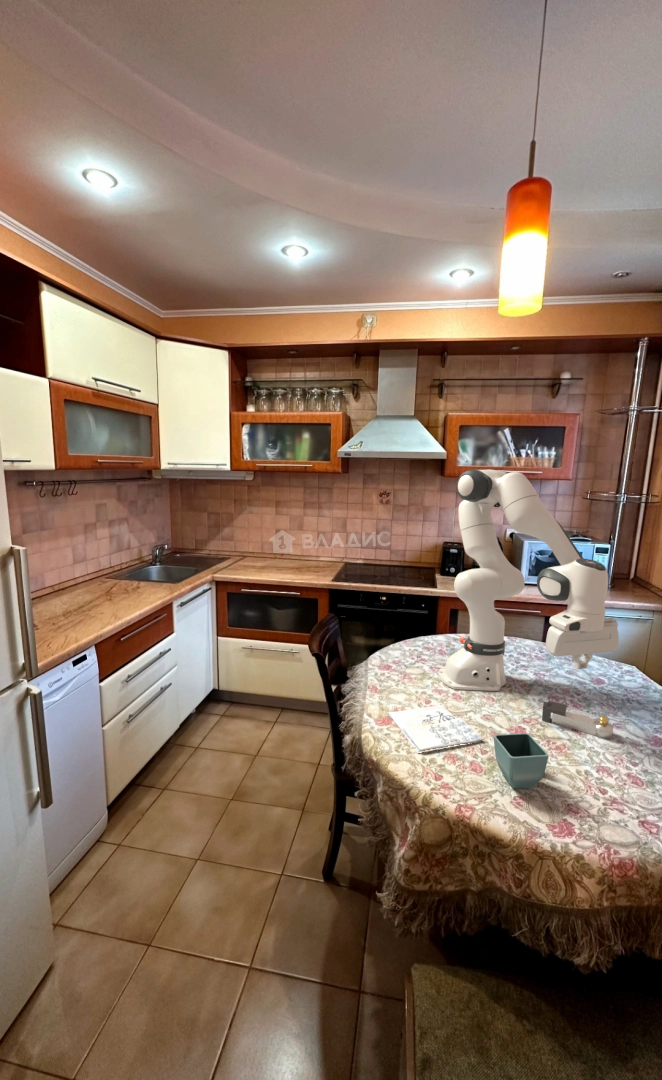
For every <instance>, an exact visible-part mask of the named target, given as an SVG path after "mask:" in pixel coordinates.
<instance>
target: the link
mask: <svg viewBox="0 0 662 1080" xmlns="http://www.w3.org/2000/svg"><path fill="white" fill-rule="evenodd" d="M599 720H600V719H595V718H594V719H593V718H591V717H587V716H584V715H580V714H577V713H575V712H569V711H566V714H565V716H564V715H560V714H556V713H552V712H551V723H552V724H556V725H559V726H562V727H566V728H569V729H573V730H576V731H579V732H583V733H586V734H590V735H593V736H596V737H597V738H600V739H601V740H612V739H613V735H614V725H613V724H611V723H610V722H608V725H607V726H605V725H601V724H600V723H599Z"/></svg>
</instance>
